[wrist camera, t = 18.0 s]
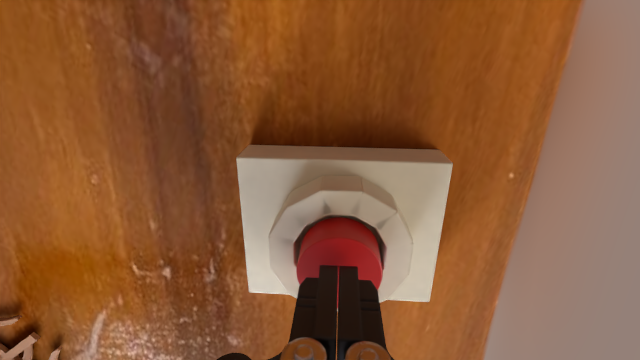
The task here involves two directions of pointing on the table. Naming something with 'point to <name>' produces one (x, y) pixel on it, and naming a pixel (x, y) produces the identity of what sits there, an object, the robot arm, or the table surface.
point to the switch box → (343, 210)
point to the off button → (340, 250)
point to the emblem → (22, 345)
